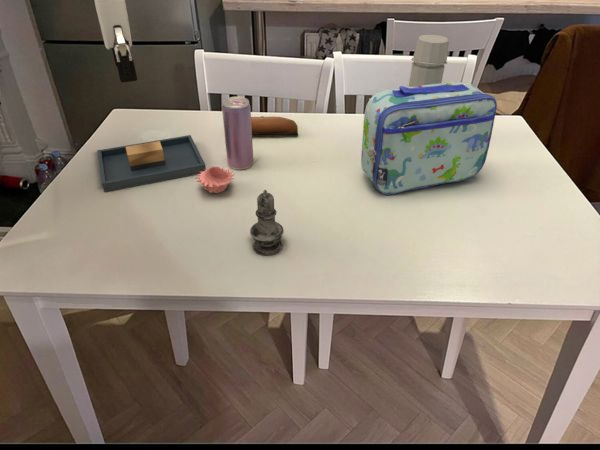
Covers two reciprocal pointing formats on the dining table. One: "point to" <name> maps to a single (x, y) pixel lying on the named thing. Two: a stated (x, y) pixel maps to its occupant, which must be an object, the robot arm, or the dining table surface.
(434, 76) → the water bottle
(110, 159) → the tray
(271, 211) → the chess bishop
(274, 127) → the sunglasses case
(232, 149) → the beverage can
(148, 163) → the eraser
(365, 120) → the lunch box
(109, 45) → the robot arm
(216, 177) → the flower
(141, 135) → the dining table surface
